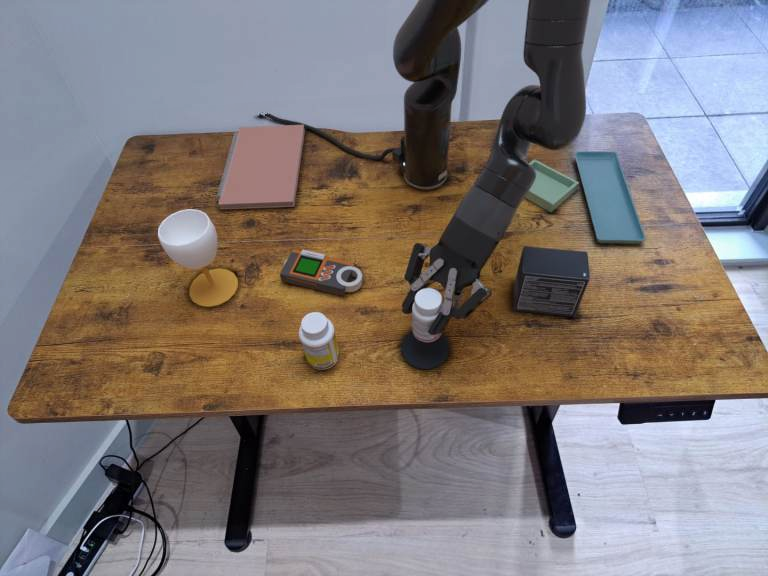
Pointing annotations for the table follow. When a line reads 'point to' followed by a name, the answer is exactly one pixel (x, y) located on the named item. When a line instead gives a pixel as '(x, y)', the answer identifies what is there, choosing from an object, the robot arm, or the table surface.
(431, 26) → the robot arm
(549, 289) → the small box
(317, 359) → the supplement bottle
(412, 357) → the coaster
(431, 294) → the pill bottle
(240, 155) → the notebook
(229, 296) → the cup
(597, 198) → the shallow long dish
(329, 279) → the electronic device
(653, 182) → the table surface
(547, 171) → the tray
